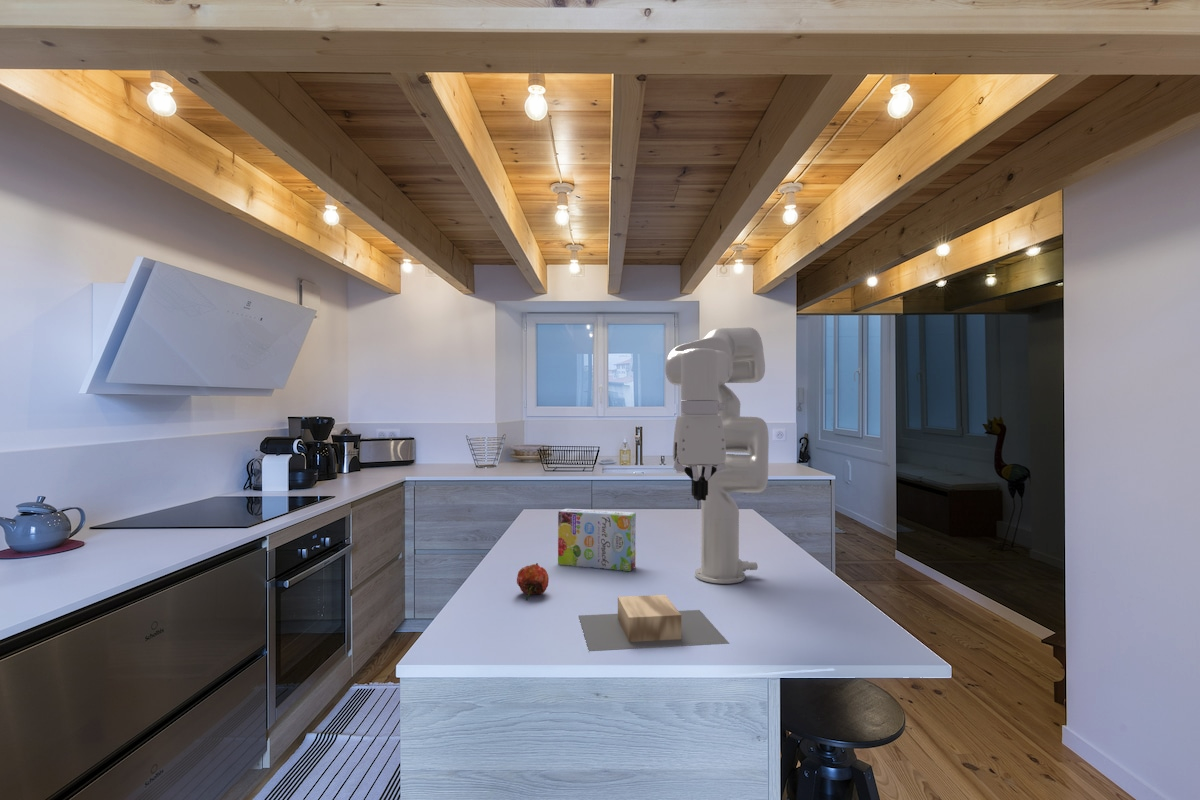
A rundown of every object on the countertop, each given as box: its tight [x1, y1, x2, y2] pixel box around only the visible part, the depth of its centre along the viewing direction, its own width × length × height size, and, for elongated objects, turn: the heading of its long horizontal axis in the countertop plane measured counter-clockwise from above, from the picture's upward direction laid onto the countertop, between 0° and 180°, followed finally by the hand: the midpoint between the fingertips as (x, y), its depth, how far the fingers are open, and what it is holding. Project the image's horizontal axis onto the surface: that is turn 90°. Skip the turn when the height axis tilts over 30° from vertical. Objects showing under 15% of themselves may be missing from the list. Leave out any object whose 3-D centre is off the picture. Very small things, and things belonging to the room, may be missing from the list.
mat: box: [578, 609, 730, 652], centre depth 117 cm, size 26×18×1 cm
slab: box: [617, 594, 681, 642], centre depth 117 cm, size 4×12×10 cm
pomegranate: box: [516, 562, 550, 601], centre depth 138 cm, size 7×7×10 cm
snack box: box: [557, 508, 637, 572], centre depth 164 cm, size 21×6×15 cm, turn 71°
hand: (699, 499), depth 121 cm, fingers closed
